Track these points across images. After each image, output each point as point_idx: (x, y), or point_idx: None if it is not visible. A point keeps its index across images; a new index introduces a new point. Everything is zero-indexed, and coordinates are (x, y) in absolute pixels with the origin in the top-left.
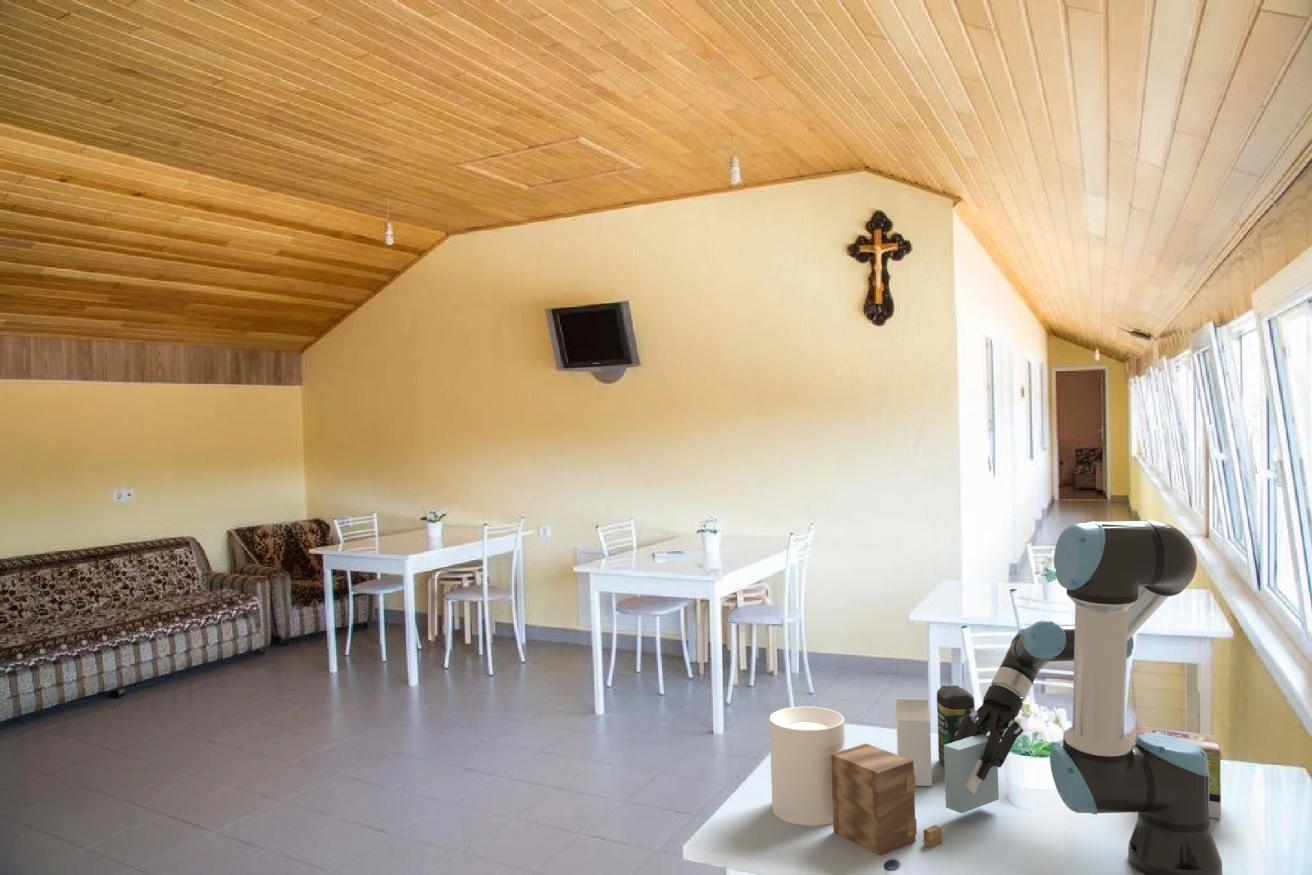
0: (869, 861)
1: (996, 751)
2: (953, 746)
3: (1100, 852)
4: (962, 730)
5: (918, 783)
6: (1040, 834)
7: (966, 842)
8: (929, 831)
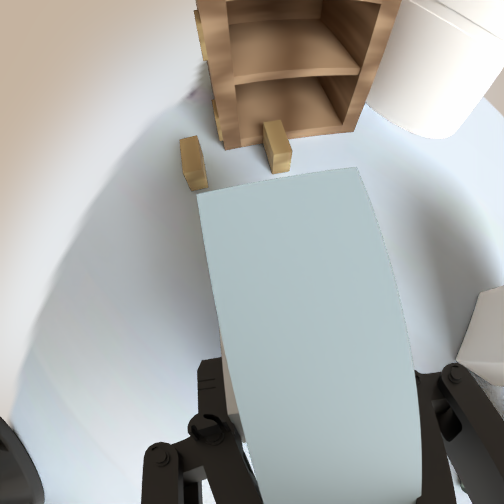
0: (204, 69)
1: (166, 500)
2: (299, 210)
3: (40, 432)
4: (499, 460)
5: (469, 331)
6: (122, 419)
7: (163, 239)
8: (181, 140)
